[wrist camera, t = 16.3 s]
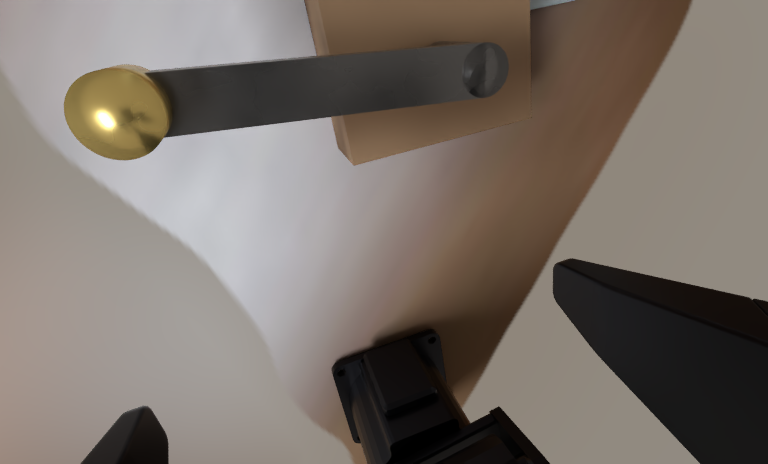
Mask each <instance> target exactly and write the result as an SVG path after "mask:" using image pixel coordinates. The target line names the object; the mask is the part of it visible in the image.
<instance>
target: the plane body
mask: <svg viewBox="0 0 768 464" xmlns="http://www.w3.org/2000/svg"><path fill="white" fill-rule="evenodd" d="M304 1H305V5H306V10H307V14H308V18H309V23H310V27H311V31H312V36H313V40H314V44H315V49H316V53H317V56H322V55H333V54H344V53H355V52H367V51H378V50H389V49H401V48H412V47H423V46H430V45H431V44H433V43H435V42H437V41H459V42H491V43H495V44H497V45H499V46H500V47H501V48H502V49H503V50H504V51H505V53H506V55H507V58H508V63H509V70H508V76H507V79H506V81H505V83H504V85H503V86H502V88H501V89H500V90H499V91H498V92H497V93H495V94H494V95H492V96H490V97H486V98H479V99H471V100H463V101H455V102H447V103H439V104H431V105H423V106H414V107H406V108H398V109H390V110H382V111H374V112H366V113H358V114H350V115H342V116H333V117H331V118H332V123H333V127H334V131H335V136H336V140H337V144H338V148H339V149H340V151H341V152H342V153H343V154H344V155H345V156H346V157H347V158H348V160H349V161H350V162H351V163H352V164H353V165H358V164H362V163H365V162H369V161H373V160H377V159H380V158H384V157H388V156H391V155H395V154H399V153H403V152H406V151H410V150H414V149H418V148H421V147H425V146H429V145H432V144H436V143H440V142H444V141H447V140H451V139H455V138H459V137H462V136H466V135H470V134H473V133H477V132H481V131H485V130H488V129H492V128H496V127H500V126H503V125H507V124H511V123H514V122H518V121H522V120H526V119H529V118H532V106H531V42H530V0H304Z"/></svg>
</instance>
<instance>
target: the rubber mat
mask: <svg viewBox="0 0 768 464" xmlns="http://www.w3.org/2000/svg"><path fill="white" fill-rule="evenodd" d="M569 1H574V0H530V10H532V9H537V8H541V7H546V6H551V5H555V4H560V3H565V2H569Z"/></svg>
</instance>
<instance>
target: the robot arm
mask: <svg viewBox="0 0 768 464" xmlns="http://www.w3.org/2000/svg"><path fill="white" fill-rule="evenodd" d="M553 294H554V298H555V300H556V302H557V304H558V305H559V306H560V307H561V309H562V310H563V311H564V313H565V314H566V315H567V317H568V318H569V319H570V320H571V322H572V323H573V324H574V326H575V327H576V328H577V329H578V331H579V332H580V333H581V335H582V336H583V337H584V339H585V340H586V341H587V342H588V343H589V345H590V346H591V347H592V349H593V350H594V351H595V352H596V353H597V355H598V356H599V357H600V358H601V359H602V360H603V361H604V362H605V363H606V364H607V366H609V368H610V369H611V370H612V371H613V372H614V373H615V374H616V375H617V376H618V377H619V378H620V379H621V380H622V381H623V382H624V383H625V385H627V387H628V388H629V389H630V390H631V391H632V392H633V393H634V394H635V395H636V396H637V397H638V398H639V399H640V400H641V401H642V402H643V403H644V405H645V406H647V408H648V409H649V410H650V411H651V412H652V413H653V414H654V415H655V416H656V417H657V418H658V419H659V420H660V422H661V423H662V424H663V425H664V426H665V427H666V428H667V429H668V430H669V431H670V432H671V433H672V434H673V435H674V436H675V437H676V438H677V439H678V441H679V442H680V443H681V444H682V445H683V446H684V447H685V448H686V449H687V450H688V451H689V452H690V453H691V454H692V455H693V456H694V457H695V458H696V460H697V461H698V462H699V463H700V464H768V302H767V301H763V300H758V299H753V300H752V299H750V298H749V297H744V296H740V295H735V294H731V293H726V292H722V291H717V290H713V289H708V288H704V287H699V286H695V285H690V284H686V283H681V282H676V281H672V280H667V279H663V278H658V277H653V276H649V275H645V274H640V273H636V272H631V271H627V270H622V269H618V268H613V267H609V266H604V265H599V264H595V263H590V262H586V261H582V260H577V259H567V260H564V261H561V262H558V263H556V264H555V266H554V268H553ZM431 337H432V339H430V340H429V338H431ZM342 369H344V370H343V371H341V372H338V371H339V370H342ZM332 374H333V377H334V380H335V384H336V387H337V390H338V393H339V396H340V399H341V403H342V406H343V409H344V412H345V415H346V419H347V422H348V425H349V428H350V431H351V434H352V438H353V441H354V442H355V443H361V445H362V448H363V451H364V455H365V458H366V461H367V464H550V463H549V462H548V461H547V460H546V459H545V457H544V456H543V455H542V454H541V453H540V451H539V450H538V449H537V448H536V447H535V446H534V445H533V444H532V442H531V441H530V440H529V439H528V438H527V437H526V436H525V435H524V434H523V432H521V430H520V429H519V428H518V427H517V426H516V425H515V424H514V422H513V421H512V420H511V419H510V418H509V417H508V416H507V415H506V413H505V412H504V411H503V410H502V409H501V408H500V407H497V408H495V409H494V410H491V411H490V414H488V415H486V416H484V417H482V418H480V419H478V420H476V421H474V422H472V423H470V422H469V420H468V418H467V417H466V415H465V413H464V412H463V410H462V408H461V407H460V405H459V403H458V402H457V400H456V398H455V397H454V395H453V393H452V392H451V390H450V388H449V387H448V385H447V383H446V376H445V369H444V363H443V356H442V349H441V342H440V337H439V335H438V333H437V332H436V331H435V330H433V329H430V330H426V331H423V332H421V333H418V334H415V335H412V336H409V337H407V338H404V339H401V340H398V341H395V342H393V343H390V344H387V345H384V346H381V347H379V348H376V349H373V350H370V351H367V352H364V353H362V354H359V355H356V356H353V357H350V358H348V359H345V360H342V361H339V362H337V363H335V364H334V365H333V367H332ZM81 464H168V439H167V435H166V433H165V431H164V429H163V428H162V426H161V425H160V423H159V421H158V419H157V418H156V416H155V415H154V413H153V411H152V410H151V409H150V408H149V407H148V406H142V407H138V408H136V409H133V410H130V411H127V412H125V413H123V414H122V415H121V416H120V417H119V419H118V420H117V421H116V422H115V423H114V425H113V426H112V427H111V428H110V429H109V430H108V432H107V433H106V434H105V435H104V436H103V438H102V439H101V440H100V441H99V442H98V444H97V445H96V446H95V447H94V448H93V449H92V451H91V452H90V453H89V454H88V456H87V457H86V458H85V459H84V460H83V461H82V463H81Z"/></svg>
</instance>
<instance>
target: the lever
mask: <svg viewBox="0 0 768 464" xmlns="http://www.w3.org/2000/svg"><path fill="white" fill-rule="evenodd" d="M508 70H509V63H508V58H507V55H506V53H505V51H504V50H503V49H502V48H501V47H500V46H499V45H497V44H495V43H491V42H459V41H437V42H435V43H433V44H431V45H430V46H423V47H412V48H401V49H389V50H378V51H367V52H355V53H344V54H333V55H322V56H310V57H299V58H288V59H276V60H265V61H254V62H242V63H231V64H220V65H208V66H197V67H186V68H175V69H163V70H152V71H150V70H148V69H146V68H143V67H140V66H136V65H117V66H113V67H109V68H105V69H101V70H97V71H93V72H90V73H87V74H85V75H83V76H81V77H80V78H78V79H77V80H76V81H75V82H74V83H73V84H72V85H71V86H70V88H69V90H68V92H67V94H66V97H65V101H64V113H65V118H66V121H67V124H68V126H69V128H70V130H71V131H72V133H73V134H74V136H75V137H76V138H77V139H78V140H79V141H80V142H81V143H82V144H83V145H84V146H85V147H87V148H88V149H89V150H91V151H93V152H94V153H96V154H98V155H101V156H103V157H106V158H110V159H115V160H132V159H137V158H140V157H143V156H145V155H147V154H149V153H150V152H152V151H153V150H154V149H155V148H156V147H157V146H158V145H159V143H160V142H161V141H162V139H163V138H164V137H172V136H180V135H188V134H196V133H204V132H212V131H220V130H228V129H236V128H244V127H253V126H261V125H269V124H277V123H285V122H293V121H301V120H309V119H317V118H325V117H333V116H342V115H350V114H358V113H366V112H374V111H382V110H390V109H398V108H406V107H414V106H423V105H431V104H439V103H447V102H455V101H463V100H471V99H479V98H486V97H490V96H492V95H494V94H495V93H497V92H498V91H499V90H500V89H501V88H502V86H503V85H504V83H505V81H506V79H507V76H508Z"/></svg>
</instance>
